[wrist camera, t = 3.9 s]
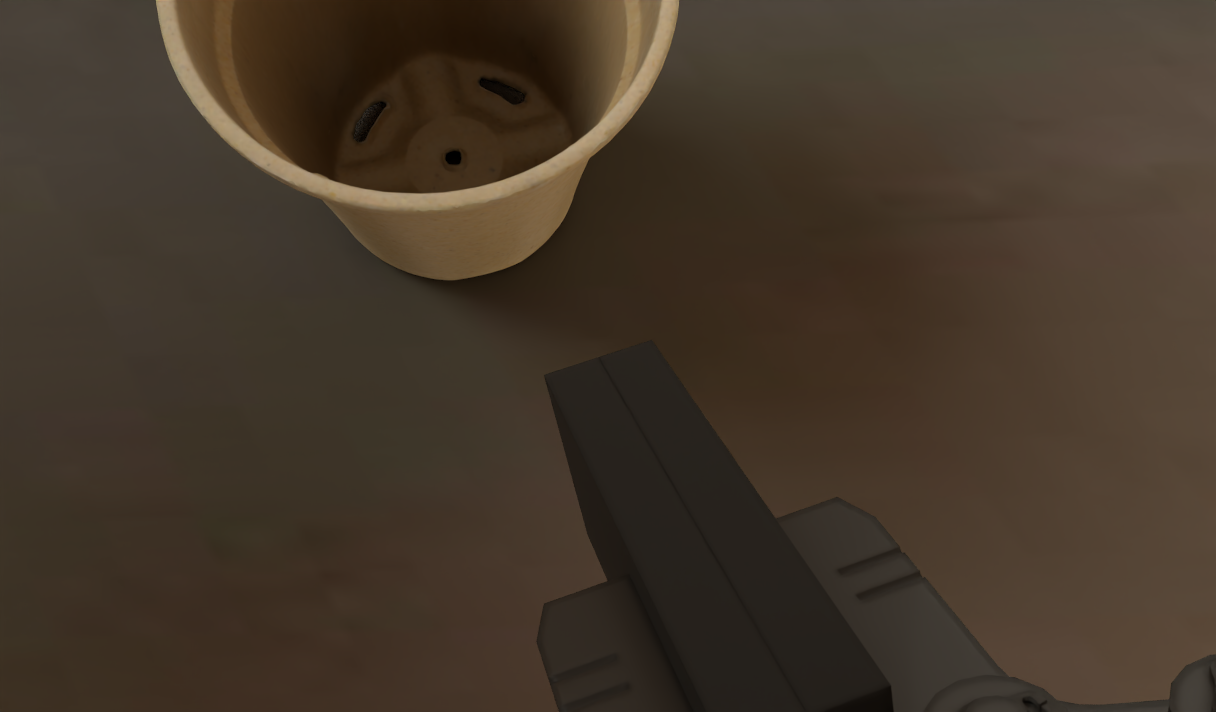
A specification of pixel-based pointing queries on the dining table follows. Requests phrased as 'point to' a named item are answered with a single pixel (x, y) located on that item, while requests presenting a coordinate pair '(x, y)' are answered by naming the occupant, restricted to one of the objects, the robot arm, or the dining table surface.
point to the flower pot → (423, 109)
